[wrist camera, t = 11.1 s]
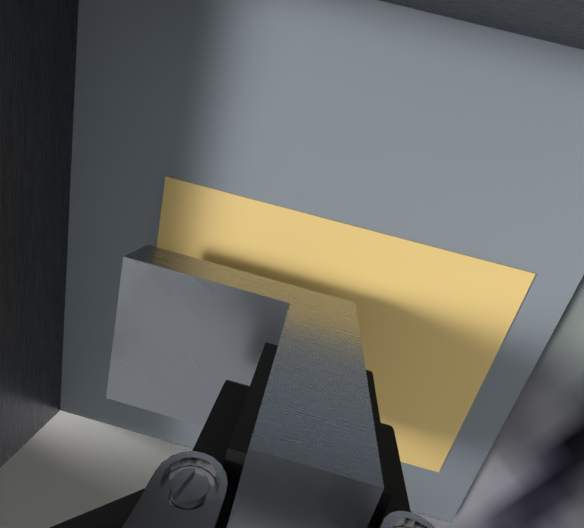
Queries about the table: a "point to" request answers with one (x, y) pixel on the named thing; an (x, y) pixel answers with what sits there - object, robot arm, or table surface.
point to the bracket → (240, 368)
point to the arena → (298, 193)
